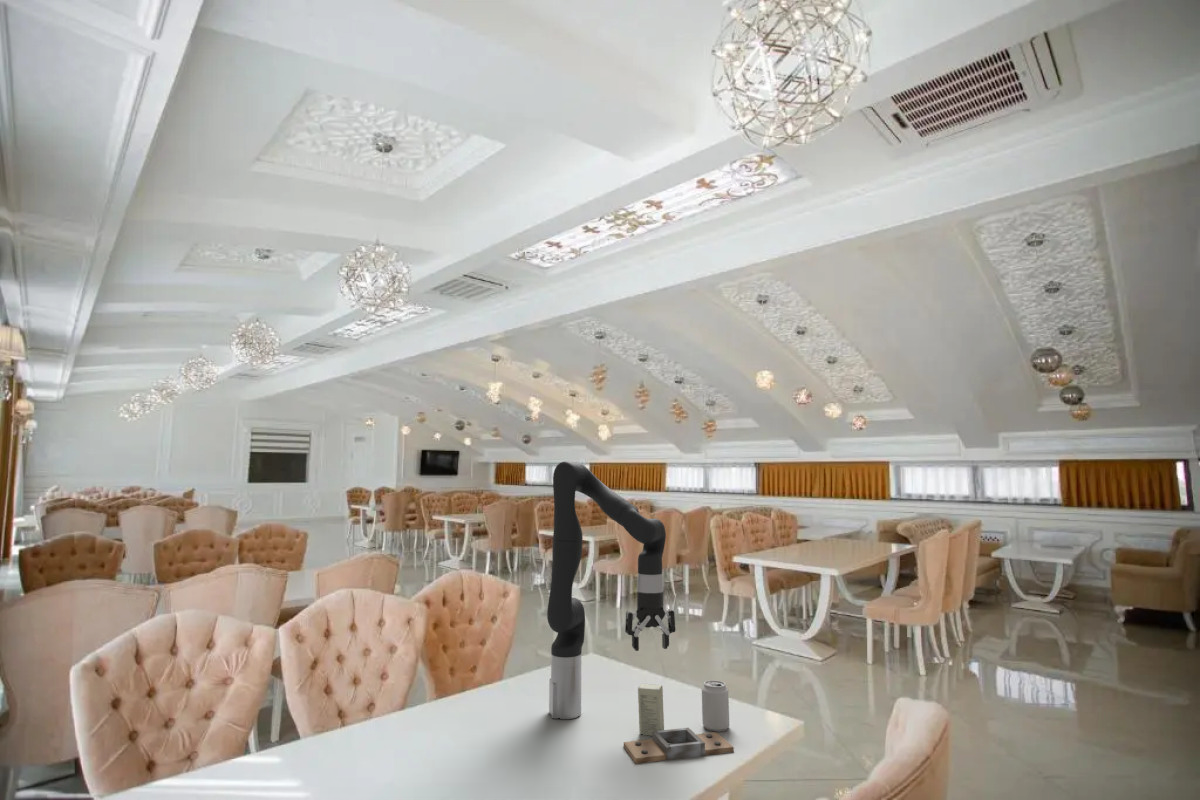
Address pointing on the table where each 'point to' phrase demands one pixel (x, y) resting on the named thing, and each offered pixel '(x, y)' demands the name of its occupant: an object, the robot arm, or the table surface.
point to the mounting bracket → (676, 745)
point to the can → (715, 705)
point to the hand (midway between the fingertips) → (650, 649)
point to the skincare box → (650, 708)
